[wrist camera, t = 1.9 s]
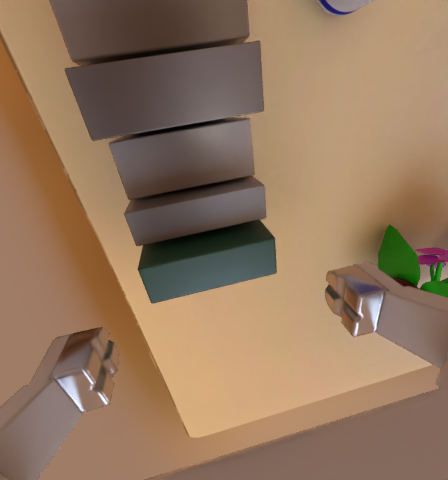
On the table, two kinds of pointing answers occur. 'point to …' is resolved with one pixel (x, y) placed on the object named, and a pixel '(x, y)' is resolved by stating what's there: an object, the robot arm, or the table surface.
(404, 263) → the potted plant
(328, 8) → the beverage can
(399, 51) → the table surface
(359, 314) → the robot arm
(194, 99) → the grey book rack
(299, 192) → the table surface
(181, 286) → the green book
